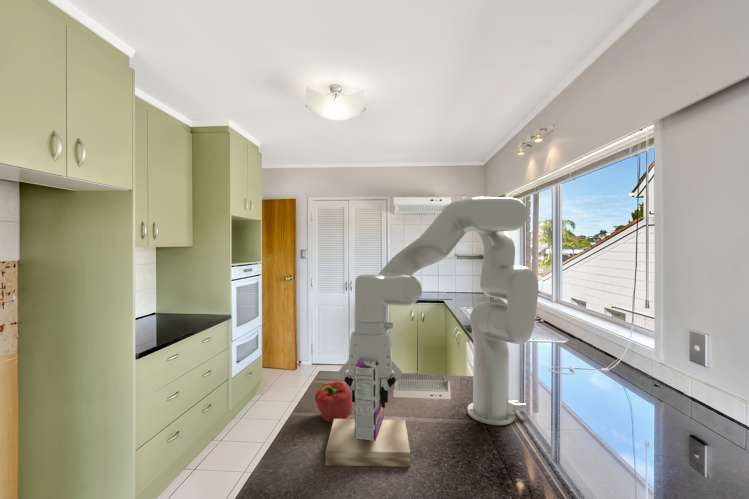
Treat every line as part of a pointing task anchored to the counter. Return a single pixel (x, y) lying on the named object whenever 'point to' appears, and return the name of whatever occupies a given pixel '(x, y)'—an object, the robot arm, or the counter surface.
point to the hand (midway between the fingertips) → (369, 404)
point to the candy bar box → (368, 401)
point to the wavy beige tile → (368, 445)
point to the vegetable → (334, 401)
